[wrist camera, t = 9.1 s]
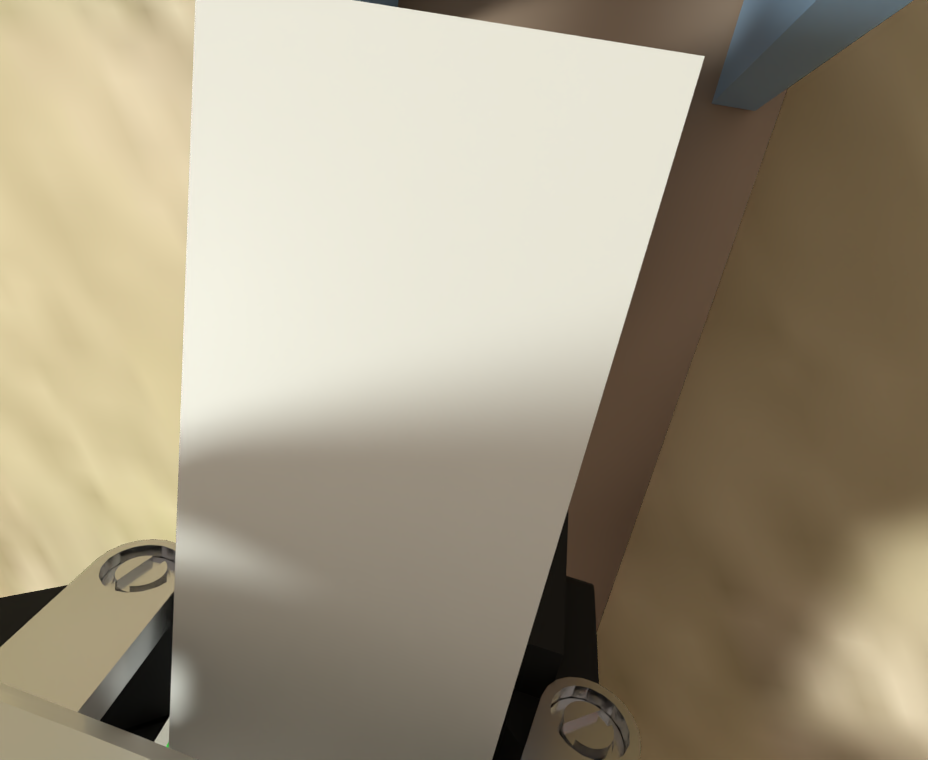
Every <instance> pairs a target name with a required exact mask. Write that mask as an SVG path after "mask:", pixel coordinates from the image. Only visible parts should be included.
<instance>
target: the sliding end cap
mask: <svg viewBox="0 0 928 760" xmlns="http://www.w3.org/2000/svg"><path fill="white" fill-rule="evenodd" d="M355 1H361V2H368V3H374V4H380V5H386V6H393V7H398V0H355ZM912 1H913V0H744V1H743V5H742V8H741V11H740V14H739V17H738V21H737V24H736V27H735V30H734V33H733V37H732V40H731V43H730V46H729V49H728V52H727V56H726V59H725V62H724V65H723V68H722V72H721V75H720V78H719V81H718V84H717V88H716V91H715V94H714V97H713V100H712V104H717V105H723V106H728V107H734V108H740V109H746V110H752V111H756V110H757V109H759V108H760V107H761V106H763V105H764V104H766V103H767V102H769V101H770V100H771V99H773V98H774V97H776V96H777V95H779V94H780V93H781V92H783V91H784V90H786V89H787V88H789V87H790V86H792V85H793V84H794V83H796V82H797V81H799V80H800V79H802V78H803V77H804V76H806V75H807V74H809V73H810V72H812V71H813V70H814V69H816V68H817V67H819V66H820V65H822V64H823V63H824V62H826V61H827V60H829V59H830V58H832V57H833V56H834V55H836V54H837V53H839V52H840V51H842V50H843V49H845V48H846V47H847V46H849V45H850V44H852V43H853V42H855V41H856V40H857V39H859V38H860V37H862V36H863V35H865V34H866V33H867V32H869V31H870V30H872V29H873V28H875V27H876V26H877V25H879V24H880V23H882V22H883V21H885V20H886V19H887V18H889V17H890V16H892V15H893V14H895V13H896V12H898V11H899V10H900V9H902V8H903V7H905V6H906V5H908V4H909V3H910V2H912Z"/></svg>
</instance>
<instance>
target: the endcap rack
mask: <svg viewBox="0 0 928 760" xmlns="http://www.w3.org/2000/svg"><path fill="white" fill-rule="evenodd" d="M743 1H744V0H398V7H399V8H405V9H412V10H418V11H424V12H430V13H437V14H443V15H449V16H455V17H462V18H468V19H474V20H481V21H487V22H493V23H499V24H506V25H512V26H518V27H525V28H531V29H537V30H543V31H550V32H556V33H562V34H568V35H575V36H581V37H587V38H594V39H600V40H606V41H612V42H619V43H625V44H631V45H637V46H644V47H650V48H656V49H663V50H669V51H675V52H681V53H688V54H694V55H700V56H705V57H704V61H703V64H702V67H701V70H700V74H699V77H698V80H697V84H696V87H695V90H694V94H693V97H692V100H691V104H690V107H689V110H688V113H687V117H686V120H685V123H684V127H683V130H682V133H681V137H680V140H679V143H678V147H677V150H676V153H675V156H674V160H673V163H672V166H671V170H670V173H669V176H668V180H667V183H666V186H665V190H664V193H663V196H662V199H661V203H660V206H659V209H658V213H657V216H656V219H655V223H654V226H653V229H652V233H651V236H650V239H649V242H648V246H647V249H646V252H645V256H644V259H643V262H642V266H641V269H640V272H639V276H638V279H637V282H636V285H635V289H634V292H633V295H632V299H631V302H630V305H629V309H628V312H627V315H626V319H625V322H624V325H623V328H622V332H621V335H620V338H619V342H618V345H617V348H616V352H615V355H614V358H613V362H612V365H611V368H610V371H609V375H608V378H607V381H606V385H605V388H604V391H603V395H602V398H601V401H600V405H599V408H598V411H597V415H596V418H595V421H594V424H593V428H592V431H591V434H590V438H589V441H588V444H587V448H586V451H585V454H584V458H583V461H582V464H581V467H580V471H579V474H578V477H577V481H576V484H575V487H574V491H573V494H572V497H571V501H570V504H569V507H568V539H567V567H566V576H569V577H572V578H575V579H579V580H582V581H585V582H588V583H592V584H593V585H594V591H595V612H596V633H597V630H598V627H599V624H600V621H601V618H602V616H603V613H604V610H605V607H606V604H607V601H608V599H609V596H610V593H611V590H612V587H613V584H614V581H615V579H616V576H617V573H618V570H619V567H620V564H621V562H622V559H623V556H624V553H625V550H626V547H627V544H628V542H629V539H630V536H631V533H632V530H633V527H634V525H635V522H636V519H637V516H638V513H639V510H640V507H641V505H642V502H643V499H644V496H645V493H646V490H647V488H648V485H649V482H650V479H651V476H652V473H653V470H654V468H655V465H656V462H657V459H658V456H659V453H660V451H661V448H662V445H663V442H664V439H665V436H666V433H667V431H668V428H669V425H670V422H671V419H672V416H673V414H674V411H675V408H676V405H677V402H678V399H679V396H680V394H681V391H682V388H683V385H684V382H685V379H686V377H687V374H688V371H689V368H690V365H691V362H692V359H693V357H694V354H695V351H696V348H697V345H698V342H699V340H700V337H701V334H702V331H703V328H704V325H705V323H706V320H707V317H708V314H709V311H710V308H711V305H712V303H713V300H714V297H715V294H716V291H717V288H718V286H719V283H720V280H721V277H722V274H723V271H724V268H725V266H726V263H727V260H728V257H729V254H730V251H731V249H732V246H733V243H734V240H735V237H736V234H737V231H738V229H739V226H740V223H741V220H742V217H743V214H744V212H745V209H746V206H747V203H748V200H749V197H750V194H751V192H752V189H753V186H754V183H755V180H756V177H757V175H758V172H759V169H760V166H761V163H762V160H763V157H764V155H765V152H766V149H767V146H768V143H769V140H770V138H771V135H772V132H773V129H774V126H775V123H776V120H777V118H778V115H779V112H780V109H781V106H782V103H783V101H784V98H785V95H786V92H787V89H788V88H787V89H786V90H784V91H783V92H781V93H780V94H779V95H777V96H776V97H774V98H773V99H771V100H770V101H769V102H767V103H766V104H764V105H763V106H761V107H760V108H759V109H757V110H756V111H752V110H746V109H740V108H734V107H728V106H723V105H717V104H712V100H713V97H714V94H715V91H716V88H717V84H718V81H719V78H720V75H721V72H722V68H723V65H724V62H725V59H726V56H727V52H728V49H729V46H730V43H731V40H732V37H733V33H734V30H735V27H736V24H737V21H738V17H739V14H740V11H741V8H742V5H743Z"/></svg>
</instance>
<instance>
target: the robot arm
mask: <svg viewBox="0 0 928 760" xmlns="http://www.w3.org/2000/svg"><path fill="white" fill-rule="evenodd" d="M567 539H568V510H567V514H566V517H565V520H564V524H563V527H562V530H561V534H560V537H559V540H558V544H557V547H556V550H555V553H554V557H553V560H552V563H551V567H550V570H549V573H548V577H547V580H546V583H545V587H544V590H543V593H542V596H541V600H540V603H539V606H538V610H537V613H536V616H535V620H534V623H533V626H532V630H531V633H530V636H529V639H528V643H527V646H526V649H525V653H524V656H523V659H522V663H521V666H520V669H519V673H518V676H517V679H516V682H515V686H514V689H513V692H512V696H511V699H510V702H509V706H508V709H507V712H506V716H505V719H504V722H503V725H502V729H501V732H500V735H499V739H498V742H497V745H496V749H495V752H494V755H493V759H492V760H640V753H641V741H640V732H639V729H638V727H637V724H636V722H635V719H634V717H633V716H632V714H631V713H630V712H629V710H628V709H627V707H626V706H625V705H624V703H623V702H622V701H620V700H619V699H618V698H617V697H616V696H615V695H614V694H613V693H612V692H611V691H609V690H607V689H606V688H604V687H602V686H601V685H599V679H598V657H597V635H596V612H595V591H594V585H593V584H592V583H588V582H585V581H582V580H579V579H575V578H572V577H569V576H566V567H567ZM175 556H176V543H174V542H171V541H167V540H156V539H150V540H139V541H134V542H131V543H127V544H123V545H120V546H118V547H116V548H114V549H111V550H109V551H107V552H106V553H105V554H103V555H102V556H100V557H99V558H97V559H96V560H95V561H94V562H93V563H92V564H91V565H90V566H89V567H87V568H86V569H85V570H84V571H83V572H82V573H81V574H80V575H79V576H78V577H77V578H75V579H74V580H73V581H72V582H71V583H70V584H69V585H66V586H61V587H56V588H50V589H45V590H40V591H34V592H29V593H24V594H18V595H13V596H8V597H2V598H0V760H198V759H196V758H193V757H191V756H188V755H186V754H183V753H181V752H178V751H176V750H173V749H171V748H168V747H166V746H167V744H168V742H169V722H170V694H171V667H172V639H173V611H174V584H175Z"/></svg>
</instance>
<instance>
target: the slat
mask: <svg viewBox="0 0 928 760" xmlns="http://www.w3.org/2000/svg"><path fill="white" fill-rule="evenodd" d="M704 57H705V56H700V55H694V54H688V53H681V52H675V51H669V50H663V49H656V48H650V47H644V46H637V45H631V44H625V43H619V42H612V41H606V40H600V39H594V38H587V37H581V36H575V35H568V34H562V33H556V32H550V31H543V30H537V29H531V28H525V27H518V26H512V25H506V24H499V23H493V22H487V21H481V20H474V19H468V18H462V17H455V16H449V15H443V14H437V13H430V12H424V11H418V10H412V9H405V8H399V7H393V6H386V5H380V4H374V3H368V2H361V1H355V0H196V3H195V30H194V58H193V86H192V113H191V141H190V169H189V196H188V224H187V252H186V279H185V307H184V335H183V362H182V390H181V418H180V445H179V473H178V501H177V528H176V556H175V584H174V611H173V639H172V667H171V694H170V722H169V748H171V749H173V750H176V751H178V752H181V753H183V754H186V755H188V756H191V757H193V758H196V759H198V760H492V759H493V755H494V752H495V749H496V745H497V742H498V739H499V735H500V732H501V729H502V725H503V722H504V719H505V716H506V712H507V709H508V706H509V702H510V699H511V696H512V692H513V689H514V686H515V682H516V679H517V676H518V673H519V669H520V666H521V663H522V659H523V656H524V653H525V649H526V646H527V643H528V639H529V636H530V633H531V630H532V626H533V623H534V620H535V616H536V613H537V610H538V606H539V603H540V600H541V596H542V593H543V590H544V587H545V583H546V580H547V577H548V573H549V570H550V567H551V563H552V560H553V557H554V553H555V550H556V547H557V544H558V540H559V537H560V534H561V530H562V527H563V524H564V520H565V517H566V514H567V510H568V507H569V504H570V501H571V497H572V494H573V491H574V487H575V484H576V481H577V477H578V474H579V471H580V467H581V464H582V461H583V458H584V454H585V451H586V448H587V444H588V441H589V438H590V434H591V431H592V428H593V424H594V421H595V418H596V415H597V411H598V408H599V405H600V401H601V398H602V395H603V391H604V388H605V385H606V381H607V378H608V375H609V371H610V368H611V365H612V362H613V358H614V355H615V352H616V348H617V345H618V342H619V338H620V335H621V332H622V328H623V325H624V322H625V319H626V315H627V312H628V309H629V305H630V302H631V299H632V295H633V292H634V289H635V285H636V282H637V279H638V276H639V272H640V269H641V266H642V262H643V259H644V256H645V252H646V249H647V246H648V242H649V239H650V236H651V233H652V229H653V226H654V223H655V219H656V216H657V213H658V209H659V206H660V203H661V199H662V196H663V193H664V190H665V186H666V183H667V180H668V176H669V173H670V170H671V166H672V163H673V160H674V156H675V153H676V150H677V147H678V143H679V140H680V137H681V133H682V130H683V127H684V123H685V120H686V117H687V113H688V110H689V107H690V104H691V100H692V97H693V94H694V90H695V87H696V84H697V80H698V77H699V74H700V70H701V67H702V64H703V61H704Z"/></svg>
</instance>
